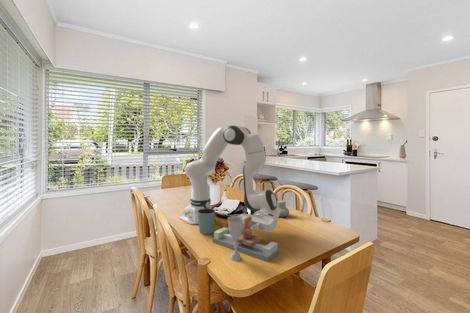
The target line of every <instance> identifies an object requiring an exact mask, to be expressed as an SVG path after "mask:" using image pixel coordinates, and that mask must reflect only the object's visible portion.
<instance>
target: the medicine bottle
mask: <svg viewBox="0 0 470 313" xmlns="http://www.w3.org/2000/svg"><path fill="white" fill-rule="evenodd" d="M246 209H247V212H248V214H250V215H253V214H254V213H255V212H256V211H258V210H260V209H261V208H260V209H255V210H249V209H248V208H247V207H246ZM247 212H246V213H247Z"/></svg>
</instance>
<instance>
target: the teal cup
mask: <svg viewBox="0 0 470 313" xmlns="http://www.w3.org/2000/svg"><path fill="white" fill-rule="evenodd" d="M197 213H198V221H199V224H198V232H199V233H200V234H202V235H211V234H214V232H215V231H216V230H215V228H216V225H215V223H216V220H215V219H216V209H214V208H204V209H200V210H198V211H197Z"/></svg>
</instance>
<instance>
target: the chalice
mask: <svg viewBox="0 0 470 313" xmlns="http://www.w3.org/2000/svg"><path fill="white" fill-rule="evenodd" d="M226 219H227V221H228V222H227V223H228V227H227V228H228V233H230V235H231V236H232V238H233V239H234V249H233V251H232V252H231V254H230V256H229V259H230V261H235V262H237V261H240V260H242V257H241V253H240V252H239V251H237V248H238V247H237V239H239V237H240V235H241V234H242V233H243V220H244V218H243V217H241V216H238V215H230V216H228V217H227V218H226Z"/></svg>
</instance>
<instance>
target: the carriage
mask: <svg viewBox="0 0 470 313" xmlns="http://www.w3.org/2000/svg"><path fill="white" fill-rule="evenodd" d="M243 218H244V220H243V230H242V233H241V235H240V237H239V239H237V242H239V243H242V244H245V245H248V246H251V247H252V246H253V245H255V244H256V243H258V242H259V243H260V241H261V240H262V237H261V236H257V235H253V234H252V233H253V232H252V231H253V230H251V229H250V226H251V225H252V217H251V216H244V217H243Z"/></svg>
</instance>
